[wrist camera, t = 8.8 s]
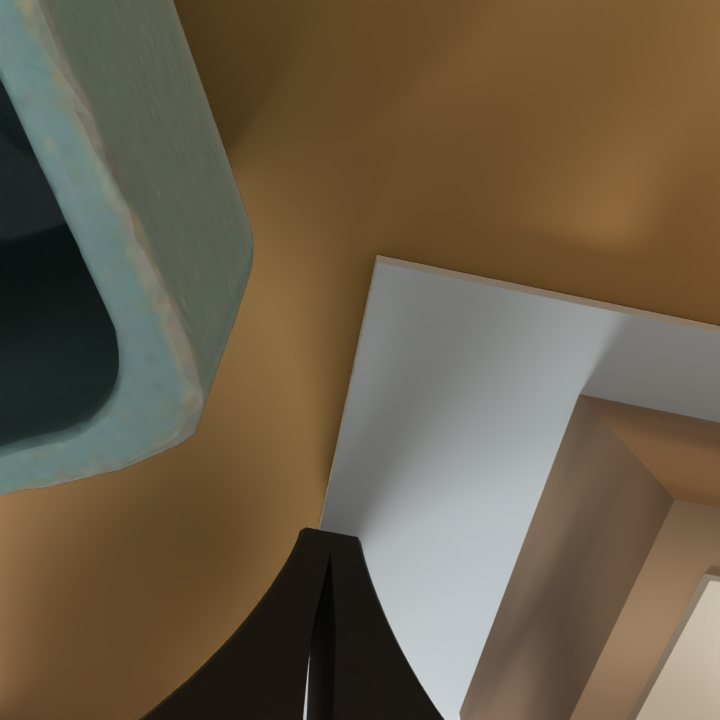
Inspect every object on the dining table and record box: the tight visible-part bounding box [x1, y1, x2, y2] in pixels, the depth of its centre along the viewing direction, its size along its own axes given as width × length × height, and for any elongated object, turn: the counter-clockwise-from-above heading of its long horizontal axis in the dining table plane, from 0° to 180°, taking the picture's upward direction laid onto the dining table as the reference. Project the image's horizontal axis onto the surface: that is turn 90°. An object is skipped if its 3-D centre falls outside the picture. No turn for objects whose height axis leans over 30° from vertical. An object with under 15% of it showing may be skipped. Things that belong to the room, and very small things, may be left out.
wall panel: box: [303, 255, 720, 720], centre depth 13 cm, size 14×14×4 cm
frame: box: [459, 394, 720, 720], centre depth 12 cm, size 10×5×4 cm, turn 168°
